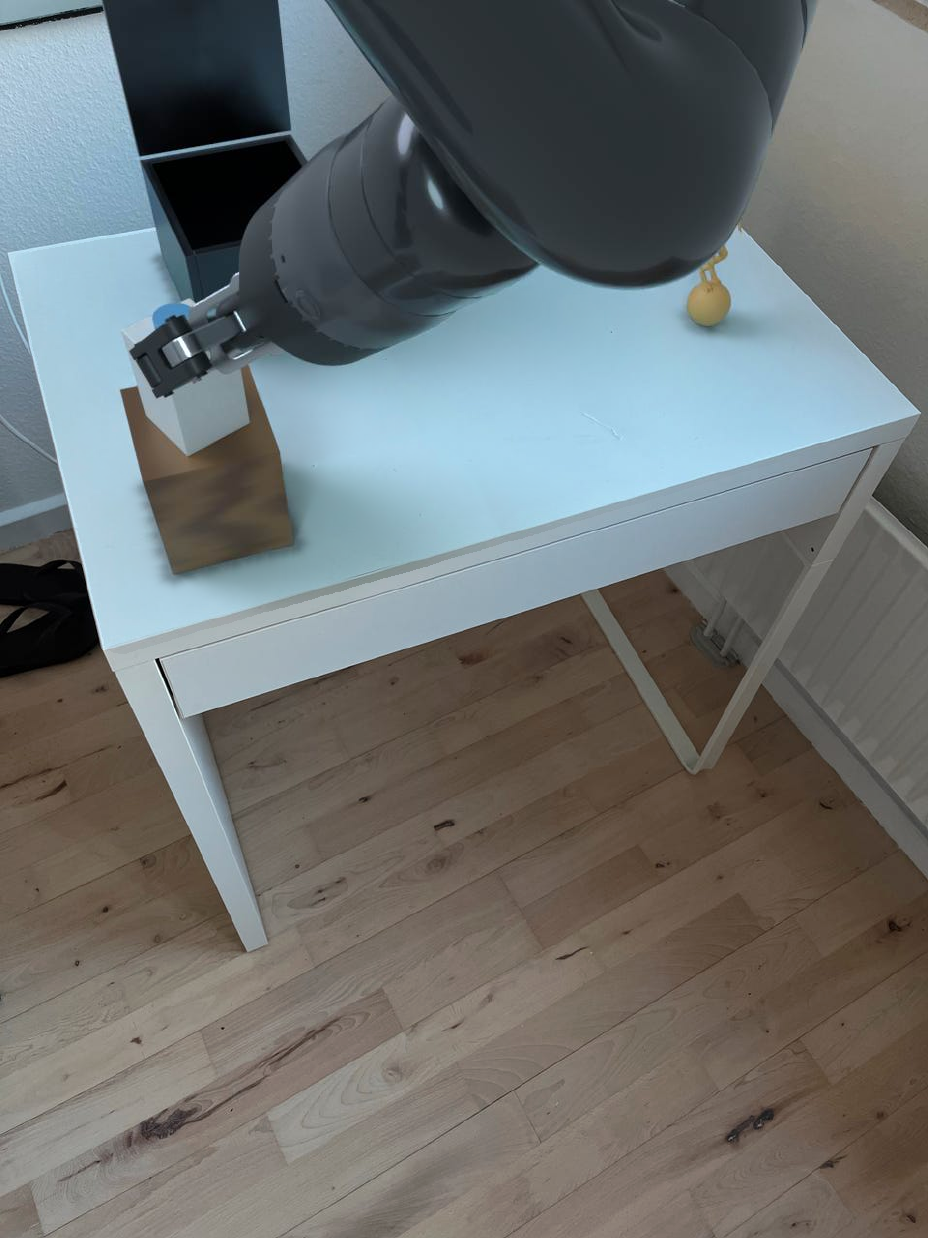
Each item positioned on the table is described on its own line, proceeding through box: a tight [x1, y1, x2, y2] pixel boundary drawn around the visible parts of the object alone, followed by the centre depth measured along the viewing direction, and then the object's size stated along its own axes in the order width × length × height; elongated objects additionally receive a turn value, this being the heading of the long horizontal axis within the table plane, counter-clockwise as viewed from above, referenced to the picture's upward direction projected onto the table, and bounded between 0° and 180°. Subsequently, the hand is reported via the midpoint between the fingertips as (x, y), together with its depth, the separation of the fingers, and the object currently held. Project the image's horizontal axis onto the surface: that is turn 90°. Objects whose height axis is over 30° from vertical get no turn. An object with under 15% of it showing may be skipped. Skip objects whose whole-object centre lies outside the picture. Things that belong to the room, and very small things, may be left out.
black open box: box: [139, 133, 309, 343], centre depth 83 cm, size 15×14×10 cm
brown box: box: [119, 364, 294, 575], centre depth 68 cm, size 9×9×10 cm
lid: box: [100, 0, 292, 157], centre depth 77 cm, size 15×14×4 cm
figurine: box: [686, 220, 743, 327], centre depth 84 cm, size 8×6×12 cm
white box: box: [120, 298, 250, 456], centre depth 60 cm, size 5×5×8 cm
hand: (236, 335), depth 51 cm, fingers open, 8 cm apart
